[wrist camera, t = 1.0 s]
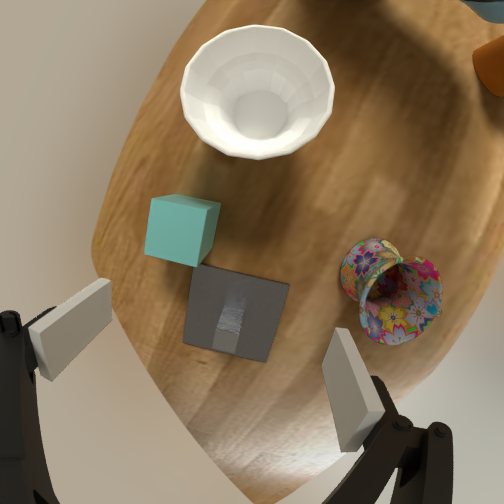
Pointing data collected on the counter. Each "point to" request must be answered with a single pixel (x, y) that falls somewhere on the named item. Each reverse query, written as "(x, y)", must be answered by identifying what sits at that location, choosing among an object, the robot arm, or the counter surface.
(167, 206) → the teal block
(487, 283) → the counter surface
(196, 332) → the grey square tile
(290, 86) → the cup
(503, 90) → the mug
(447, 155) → the counter surface
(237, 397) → the counter surface
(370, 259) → the mug
